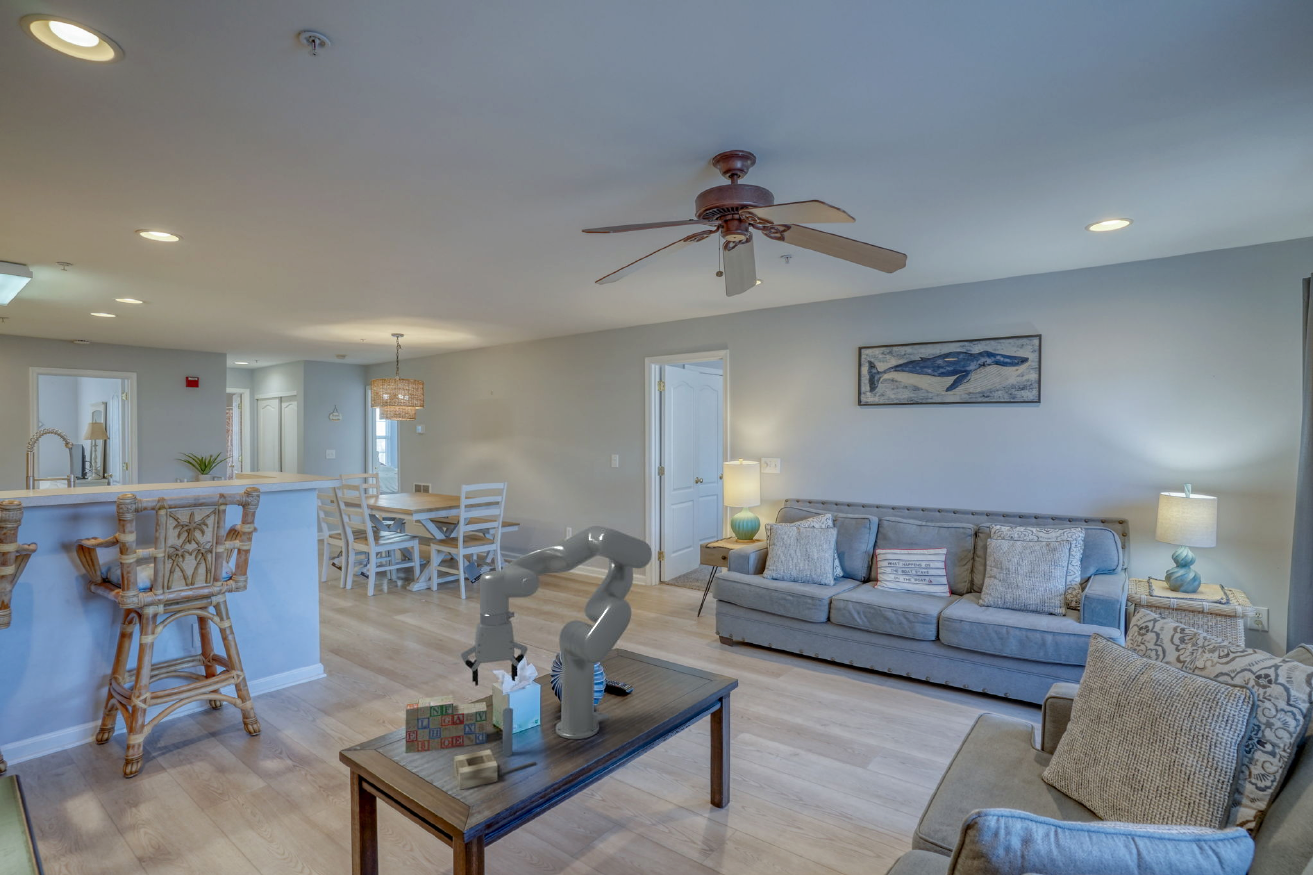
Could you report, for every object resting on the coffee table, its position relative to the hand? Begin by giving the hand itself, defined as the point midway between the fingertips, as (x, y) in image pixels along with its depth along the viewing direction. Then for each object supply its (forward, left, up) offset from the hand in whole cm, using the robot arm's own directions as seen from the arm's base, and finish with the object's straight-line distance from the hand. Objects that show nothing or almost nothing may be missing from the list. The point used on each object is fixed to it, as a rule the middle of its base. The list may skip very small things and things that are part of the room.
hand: (495, 681), depth 171 cm
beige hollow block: (+7, +9, -20) cm, 23 cm away
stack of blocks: (+10, -13, -20) cm, 26 cm away
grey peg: (-3, +1, -20) cm, 20 cm away
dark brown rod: (-4, +10, -20) cm, 23 cm away
